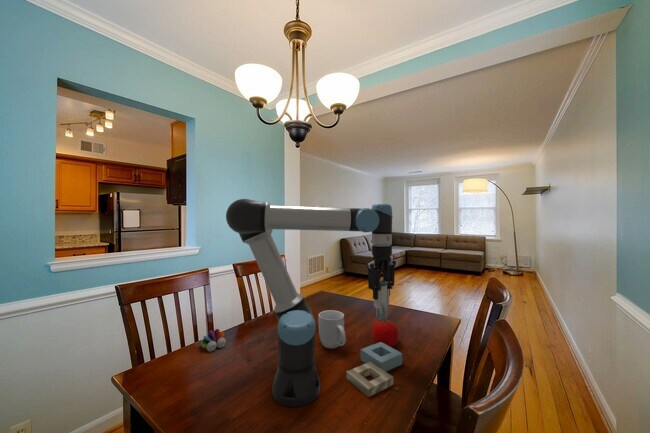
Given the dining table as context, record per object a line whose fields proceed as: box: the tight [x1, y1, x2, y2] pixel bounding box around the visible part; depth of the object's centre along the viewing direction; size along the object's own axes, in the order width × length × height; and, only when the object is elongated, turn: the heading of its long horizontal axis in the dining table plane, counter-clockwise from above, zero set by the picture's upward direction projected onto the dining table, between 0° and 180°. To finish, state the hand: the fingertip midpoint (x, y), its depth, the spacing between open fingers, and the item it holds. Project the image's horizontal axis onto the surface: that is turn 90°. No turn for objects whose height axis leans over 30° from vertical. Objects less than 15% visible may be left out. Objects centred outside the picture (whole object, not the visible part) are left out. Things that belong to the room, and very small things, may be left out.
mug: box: [317, 309, 347, 350], centre depth 112 cm, size 15×11×13 cm
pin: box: [375, 278, 388, 321], centre depth 101 cm, size 5×5×14 cm
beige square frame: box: [345, 362, 394, 398], centre depth 89 cm, size 11×11×2 cm
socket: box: [359, 342, 403, 373], centre depth 101 cm, size 11×11×4 cm
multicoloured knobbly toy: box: [200, 328, 227, 353], centre depth 112 cm, size 8×10×7 cm
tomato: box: [370, 319, 399, 348], centre depth 115 cm, size 12×12×10 cm
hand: (381, 306), depth 101 cm, fingers closed on pin, 4 cm apart
